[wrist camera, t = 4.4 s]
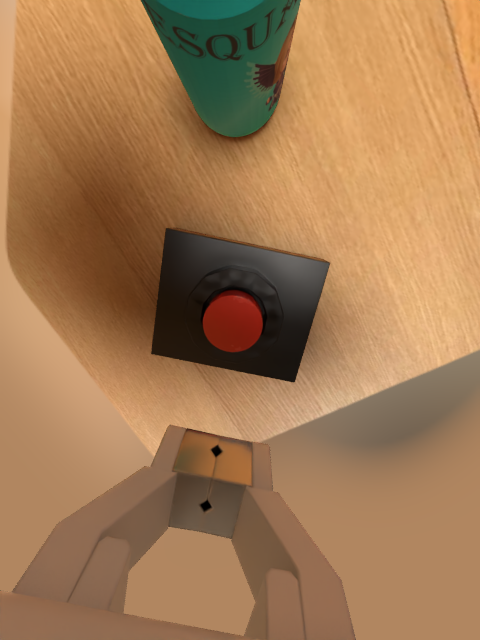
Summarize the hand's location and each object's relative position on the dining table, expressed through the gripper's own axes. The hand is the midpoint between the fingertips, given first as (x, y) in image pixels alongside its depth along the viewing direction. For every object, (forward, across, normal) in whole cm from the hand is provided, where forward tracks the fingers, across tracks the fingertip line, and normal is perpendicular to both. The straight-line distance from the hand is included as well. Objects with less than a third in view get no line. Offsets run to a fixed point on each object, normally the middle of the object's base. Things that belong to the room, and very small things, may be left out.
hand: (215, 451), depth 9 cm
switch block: (+17, 0, 0) cm, 17 cm away
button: (+13, 0, 0) cm, 13 cm away
